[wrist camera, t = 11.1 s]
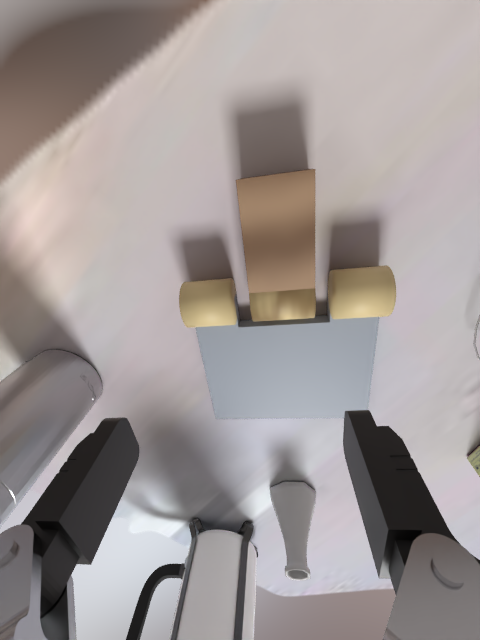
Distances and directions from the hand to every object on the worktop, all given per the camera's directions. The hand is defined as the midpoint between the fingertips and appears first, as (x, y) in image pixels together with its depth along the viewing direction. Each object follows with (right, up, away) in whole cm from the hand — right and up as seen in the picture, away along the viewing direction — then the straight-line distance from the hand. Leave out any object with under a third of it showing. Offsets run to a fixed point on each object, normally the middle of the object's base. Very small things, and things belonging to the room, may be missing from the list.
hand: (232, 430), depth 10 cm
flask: (+8, -23, +33) cm, 41 cm away
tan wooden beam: (+4, +11, +16) cm, 19 cm away
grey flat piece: (+5, +1, +21) cm, 21 cm away
